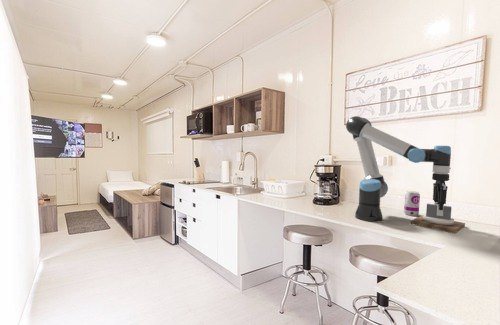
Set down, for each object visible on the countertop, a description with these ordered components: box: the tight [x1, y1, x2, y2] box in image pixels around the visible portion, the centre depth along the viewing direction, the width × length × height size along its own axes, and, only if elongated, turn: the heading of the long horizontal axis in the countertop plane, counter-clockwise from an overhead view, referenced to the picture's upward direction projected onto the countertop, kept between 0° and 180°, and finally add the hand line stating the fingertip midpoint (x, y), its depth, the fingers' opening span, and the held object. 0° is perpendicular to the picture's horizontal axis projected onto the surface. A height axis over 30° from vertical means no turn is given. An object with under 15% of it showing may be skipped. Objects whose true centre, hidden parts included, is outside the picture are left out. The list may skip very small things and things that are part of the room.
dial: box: [422, 203, 455, 225], centre depth 141 cm, size 14×14×9 cm
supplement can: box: [403, 190, 421, 217], centre depth 164 cm, size 8×8×15 cm
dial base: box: [410, 215, 466, 234], centre depth 141 cm, size 20×20×2 cm
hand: (438, 214), depth 141 cm, fingers closed on dial, 4 cm apart
